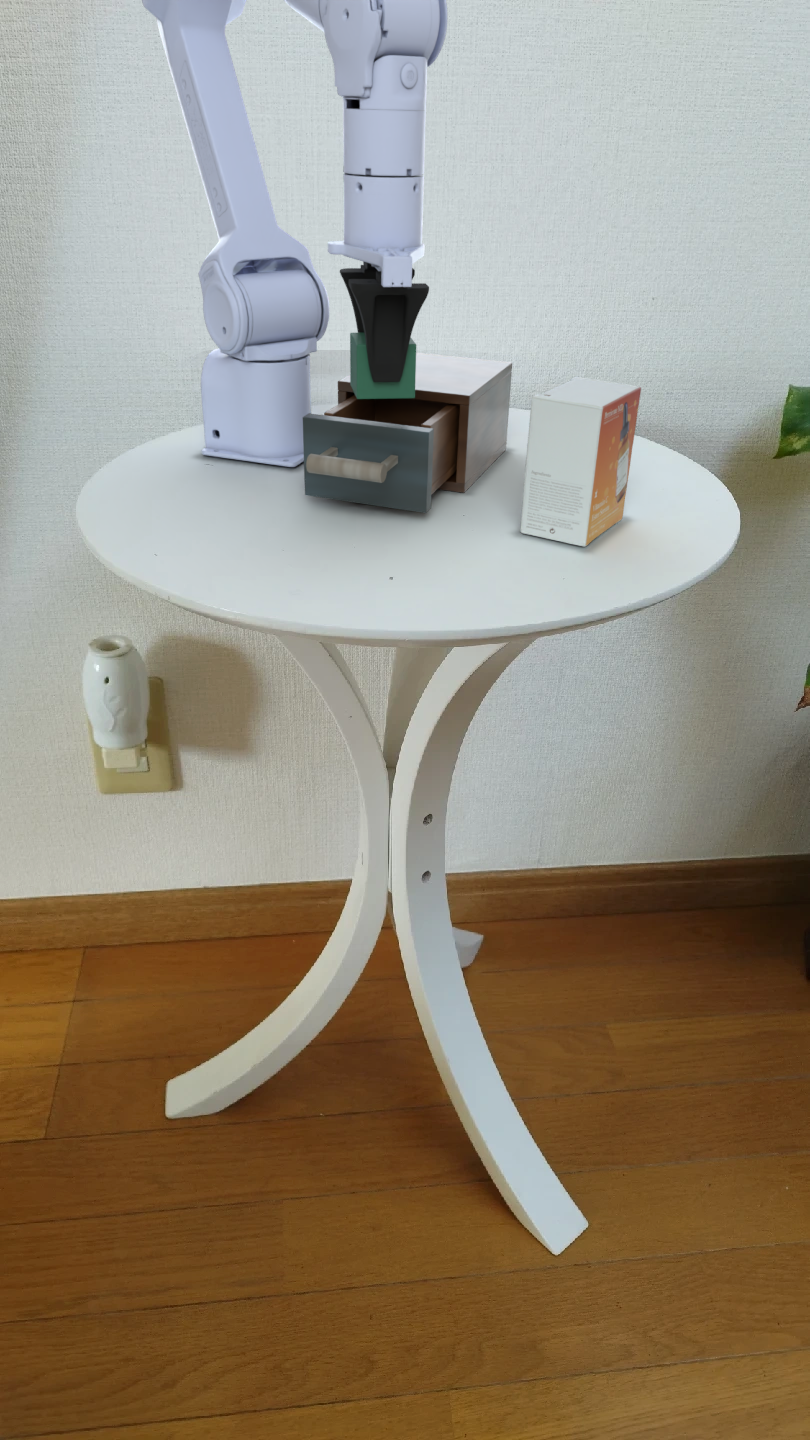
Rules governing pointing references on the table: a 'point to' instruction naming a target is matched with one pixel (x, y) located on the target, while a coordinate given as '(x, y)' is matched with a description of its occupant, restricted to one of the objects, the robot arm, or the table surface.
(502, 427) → the cabinet
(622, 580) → the table surface
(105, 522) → the table surface
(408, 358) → the green cube
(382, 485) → the drawer
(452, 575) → the table surface
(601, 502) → the small box
